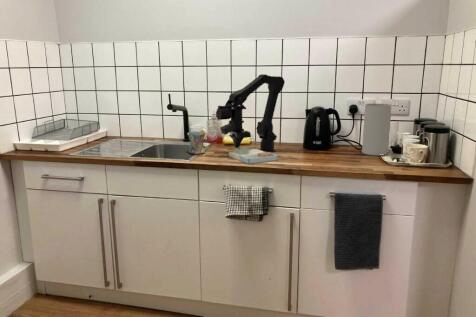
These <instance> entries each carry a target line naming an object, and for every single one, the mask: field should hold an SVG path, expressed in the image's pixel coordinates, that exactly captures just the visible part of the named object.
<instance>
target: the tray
mask: <svg viewBox="0 0 476 317" xmlns="http://www.w3.org/2000/svg"><path fill="white" fill-rule="evenodd" d="M267 153H270V154H272V156H266V157H257V158H246V157H244V156H241V155H239V160H238V161H240V162H242V163H245V164H247V165H254V164H261V163H269V162H275V161H278V158H279V155H278V154H275V153H272V152H267Z"/></svg>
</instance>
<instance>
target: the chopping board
mask: <svg viewBox="0 0 476 317" xmlns="http://www.w3.org/2000/svg"><path fill="white" fill-rule="evenodd" d="M258 153H264V151H261V150H259V149H258V148H252V149H249V154H241V156H244V157H246V158H257V157H258ZM239 155H240V154H237V153H235V150H234V151H229V152H228V156H229V157H231V158H234V159H235V160H238V161H240V160H239Z"/></svg>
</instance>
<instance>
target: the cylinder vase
mask: <svg viewBox="0 0 476 317" xmlns="http://www.w3.org/2000/svg"><path fill="white" fill-rule="evenodd" d="M392 106H393V105H392V104H388V103H365V104H364V116H363V130H362V133H363V134H362V146H361V152H362V154H364V155H368V156H376V157H377V156H378V157H379V156H380V154H385V153H387V154H388V150H389V138H390V128H391V117H392V116H391V115H392ZM380 157H381V156H380Z"/></svg>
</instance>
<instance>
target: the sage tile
mask: <svg viewBox="0 0 476 317" xmlns="http://www.w3.org/2000/svg"><path fill="white" fill-rule="evenodd" d="M249 150H250V148H248V147H246V146H239V147H238V148H235V147H234V151H235V153H237V154H240V155H241V154H249Z"/></svg>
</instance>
